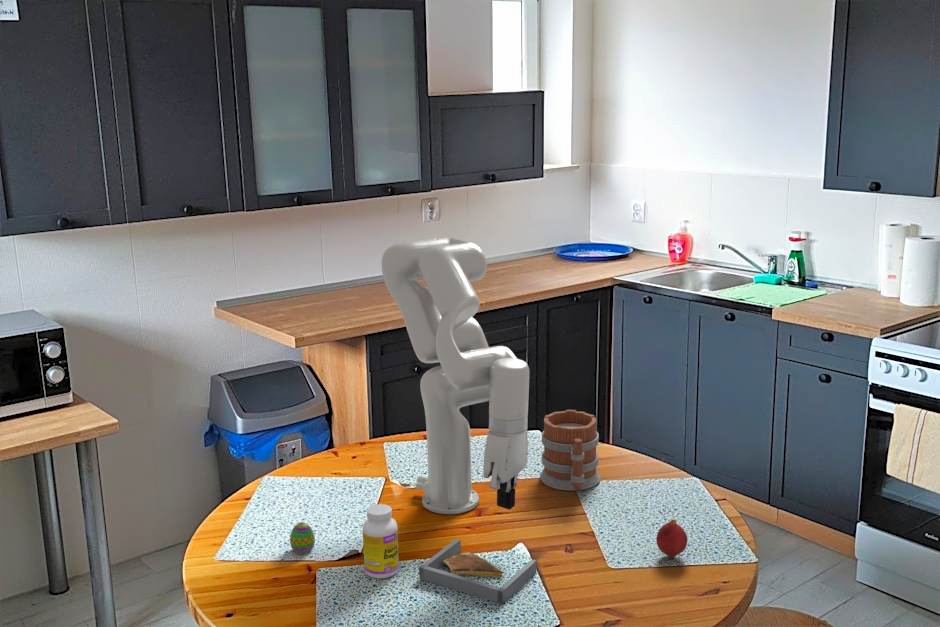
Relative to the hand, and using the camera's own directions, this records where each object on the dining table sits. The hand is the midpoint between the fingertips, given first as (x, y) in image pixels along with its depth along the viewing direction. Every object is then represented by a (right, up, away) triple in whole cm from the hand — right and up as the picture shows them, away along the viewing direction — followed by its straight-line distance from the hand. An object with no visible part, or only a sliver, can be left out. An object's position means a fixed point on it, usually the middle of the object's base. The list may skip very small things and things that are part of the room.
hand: (505, 506), depth 191 cm
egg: (-41, -9, +2) cm, 42 cm away
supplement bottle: (-24, -11, -7) cm, 27 cm away
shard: (-6, -11, -6) cm, 14 cm away
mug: (+16, -1, +30) cm, 34 cm away
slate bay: (-5, -11, -10) cm, 16 cm away
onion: (+32, -9, -5) cm, 34 cm away
